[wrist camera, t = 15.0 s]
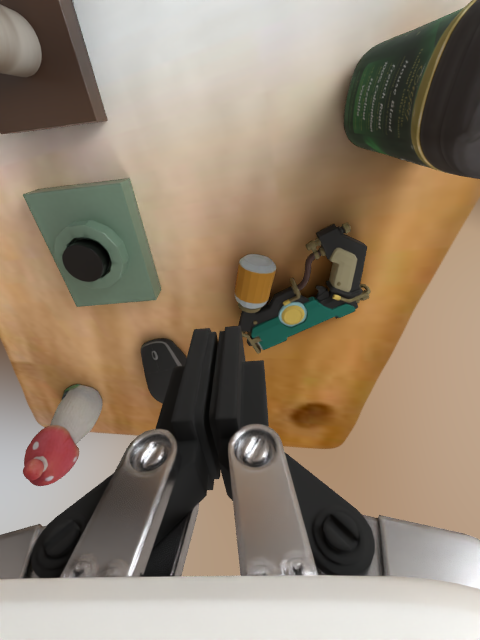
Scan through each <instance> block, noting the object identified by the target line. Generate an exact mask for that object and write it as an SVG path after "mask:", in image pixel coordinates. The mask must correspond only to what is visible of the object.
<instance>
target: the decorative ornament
mask: <svg viewBox="0 0 480 640" xmlns="http://www.w3.org/2000/svg"><path fill="white" fill-rule="evenodd" d="M101 409H102V399H101V396H100V394H99V392H98V391H96V390H95V389H93V388H91V387H87V386H83V385H79V384H76V385H73V386H70V387H68V388H67V389H66V390H65V391H64V394H63V397H62V401H61V402H60V404H59V405H58V407H57V410H56V412H55V414H54V417H53V419H52V421H51V425H50V426H47V427H45V428H44V429H42V430H41V431H40V432H39V433H38V434H37V435H36V436H35V437H34V438H33V440H32V441H31V443H30V444H29V446H28V448H27V450H26V454H25V459H24V466H25V467H24V469H23V474H24V476H25V477H26V478H27V479H28V480H29V481H30V482H31V483H32V484H34V485H36V486H44V485H49V484H51V483H54V482H56V481H57V480H59V479H60V478H61V477H63V476H64V475H65V474H66V473H67V472H69V471H70V469H71V468H72V467H73V465H74V464H75V462H76V461H77V459H78V456H79V448H78V447H77V446H76V444H77V443H78V442H79V441H80V440H81V439H82V438H83V437H85V436H86V435H87V434H88V433H89V431H90V430H91V429H92V428H93V426H94V424H95V423H96V421H97V419H98V417H99V415H100V412H101Z"/></svg>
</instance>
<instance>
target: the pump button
mask: <svg viewBox="0 0 480 640" xmlns="http://www.w3.org/2000/svg"><path fill="white" fill-rule="evenodd" d="M62 261H63V264H64V267H65V269H66V270H67V271H68V272H69V273H70V274H71V275H72V276H73V277H75V278H76V279H78V280H81V281H84V282H93V281H96V280H98V279H99V278H100V277H101V276H102V275H103V274H104V273H105V272H106V271H107V269H108V267H109V257H108V254H107V252H106V251H105V249H104V248H103V247H102V246H101V245H100V244H98V243H96V242H95V241H92V240H88V239H81V240H77V241H76V242H74V243H73V244H71V245H70V246H69V247H67V248H66V249H65V250H64V252H63V255H62Z"/></svg>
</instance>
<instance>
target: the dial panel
mask: <svg viewBox="0 0 480 640" xmlns="http://www.w3.org/2000/svg"><path fill="white" fill-rule="evenodd" d="M0 5H3V6H5V7H7V8H9V9H11V10H14V11H16V12H17V13H19V14H20V15H21V16H23V17H24V18H25V19H26V20H27V21H28V23H29V24H30V25H31V27H32V28H33V30H34V31H35V33H36V35H37V37H38V40H39V43H40V46H41V53H42V59H41V64H40V67H39V69H38V71H37V72H36V73H35V74H34V75H32V76H29V77H19V76H13V75H8V74H2V73H0V133H1V134H10V133H21V132H29V131H36V130H44V129H51V128H58V127H66V126H73V125H80V124H88V123H95V122H103V121H107V117H106V114H105V110H104V107H103V103H102V100H101V97H100V93H99V90H98V86H97V83H96V80H95V76H94V73H93V70H92V66H91V63H90V59H89V56H88V53H87V49H86V46H85V43H84V39H83V36H82V32H81V29H80V26H79V22H78V19H77V15H76V12H75V9H74V5H73V2H72V0H0Z"/></svg>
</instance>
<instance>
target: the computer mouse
mask: <svg viewBox="0 0 480 640" xmlns="http://www.w3.org/2000/svg"><path fill="white" fill-rule="evenodd" d="M141 356H142V362H143V367H144V372H145V377H146V382H147V385H148V389H149V391H150V393H151V395H152V396H153V397H154V398H155V399H156V400H157V401H159V402H161V403H163V402H164V399H165V395H166V392H167V389H168V385H169V382H170V378H171V375H172V372H173V369H174V367H175V366H185V364H186V360H187V358H186V356H185V355H184V354H183V352H182V351H181V350H180V349H179V348H178V347H177V346H176V345H175V344H174V343H173V342H172V341H171V340H169V339H164V338H162V339H154V340H151V341H148V342H146V343H144V344H143V345H142V348H141Z"/></svg>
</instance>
